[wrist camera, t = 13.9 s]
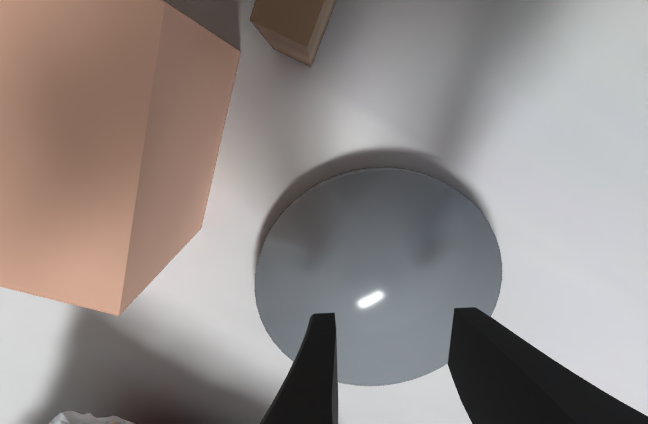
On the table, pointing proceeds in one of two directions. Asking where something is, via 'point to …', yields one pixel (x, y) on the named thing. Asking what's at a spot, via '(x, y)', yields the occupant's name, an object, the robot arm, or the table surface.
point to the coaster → (378, 271)
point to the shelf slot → (293, 25)
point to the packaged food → (85, 419)
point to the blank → (104, 143)
